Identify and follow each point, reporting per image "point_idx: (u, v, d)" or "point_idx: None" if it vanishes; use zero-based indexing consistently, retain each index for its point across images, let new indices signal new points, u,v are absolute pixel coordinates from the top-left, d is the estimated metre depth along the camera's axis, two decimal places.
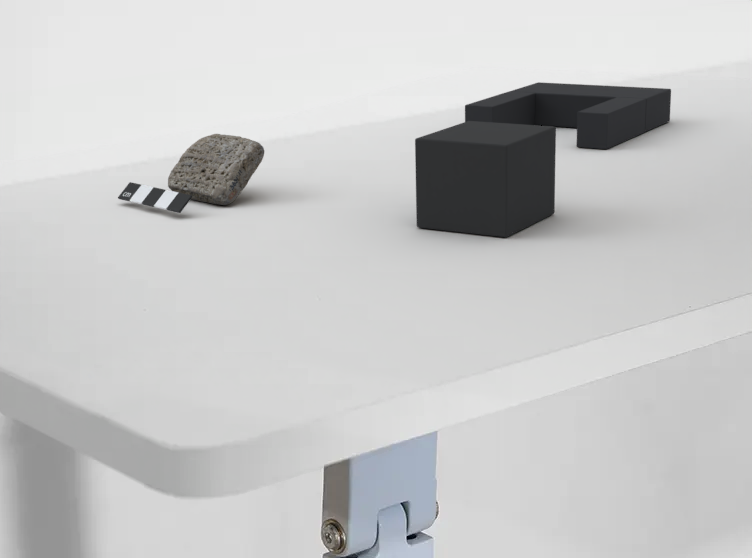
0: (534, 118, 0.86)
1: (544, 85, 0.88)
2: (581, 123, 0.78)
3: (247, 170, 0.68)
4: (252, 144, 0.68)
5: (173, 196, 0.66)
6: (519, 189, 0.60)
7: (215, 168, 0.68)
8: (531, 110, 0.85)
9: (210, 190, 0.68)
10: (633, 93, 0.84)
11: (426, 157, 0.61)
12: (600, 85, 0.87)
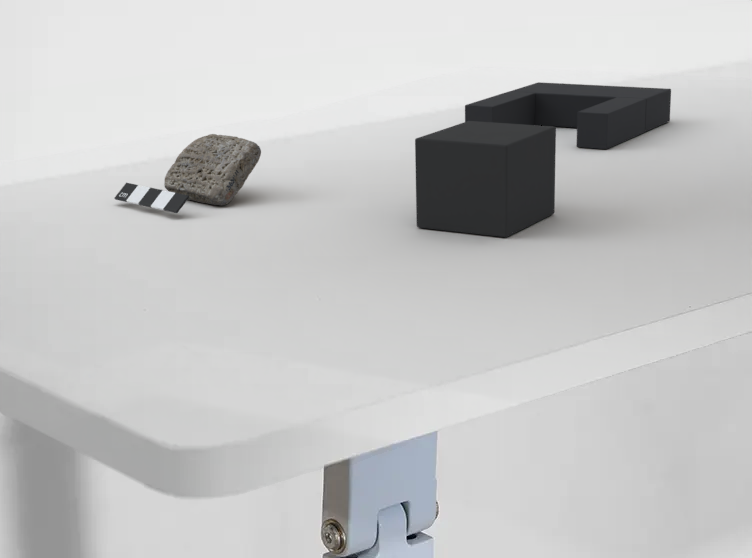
0: (534, 118, 0.86)
1: (544, 85, 0.88)
2: (581, 123, 0.78)
3: (244, 170, 0.68)
4: (249, 144, 0.68)
5: (169, 196, 0.66)
6: (519, 189, 0.60)
7: (211, 168, 0.68)
8: (531, 110, 0.85)
9: (207, 190, 0.68)
10: (633, 93, 0.84)
11: (426, 157, 0.61)
12: (600, 85, 0.87)
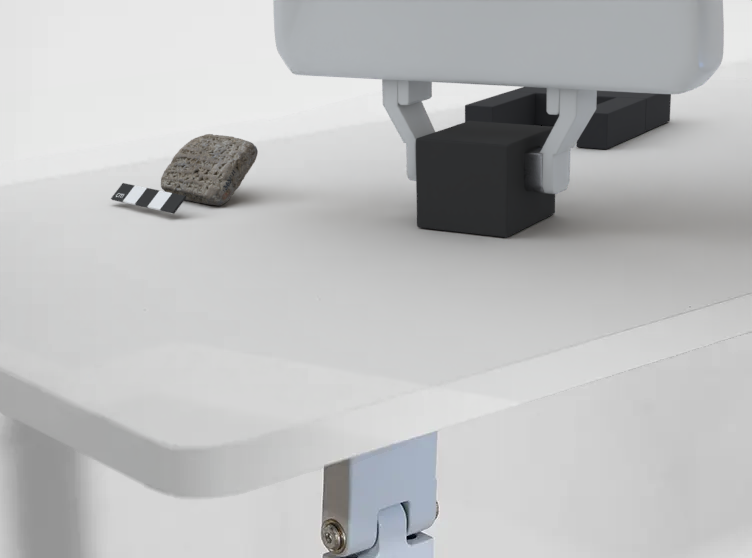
0: (534, 118, 0.86)
1: None
2: None
3: (241, 170, 0.68)
4: (245, 144, 0.68)
5: (166, 197, 0.66)
6: (519, 189, 0.60)
7: (208, 168, 0.68)
8: (531, 110, 0.85)
9: (204, 190, 0.68)
10: (633, 93, 0.84)
11: (427, 157, 0.61)
12: None
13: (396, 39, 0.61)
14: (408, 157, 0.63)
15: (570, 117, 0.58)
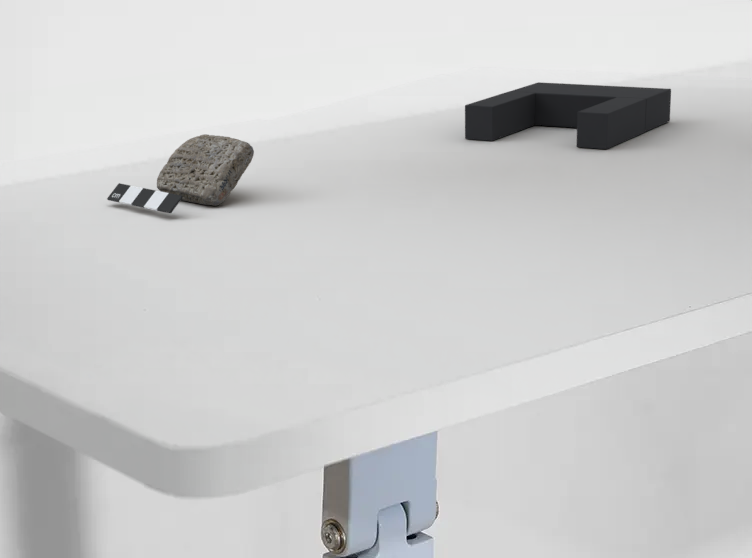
0: (534, 118, 0.86)
1: (544, 85, 0.88)
2: (581, 123, 0.78)
3: (237, 170, 0.68)
4: (241, 144, 0.68)
5: (163, 197, 0.66)
6: None
7: (204, 168, 0.68)
8: (531, 110, 0.85)
9: (200, 191, 0.68)
10: (633, 93, 0.84)
11: None
12: (600, 85, 0.87)
13: None
14: None
15: None
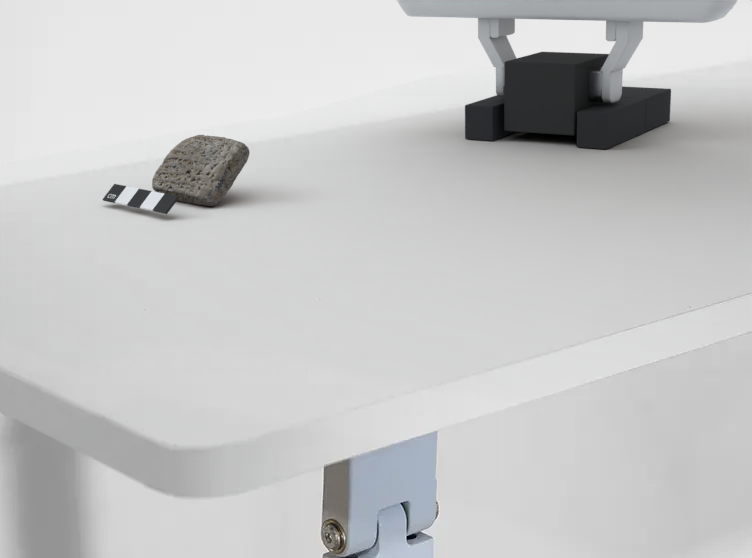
0: None
1: None
2: (581, 123, 0.78)
3: (233, 171, 0.68)
4: (237, 145, 0.68)
5: (159, 197, 0.66)
6: (583, 99, 0.80)
7: (200, 169, 0.68)
8: None
9: (196, 191, 0.68)
10: (633, 93, 0.84)
11: (513, 75, 0.80)
12: None
13: None
14: (497, 78, 0.83)
15: (624, 43, 0.78)
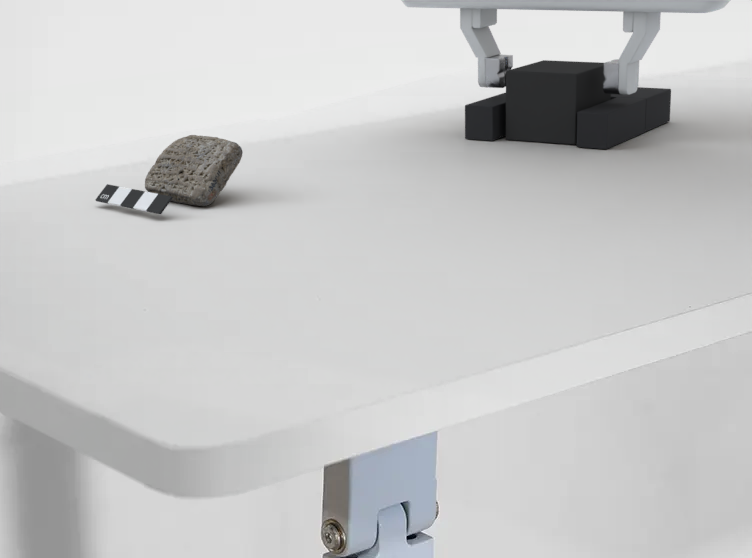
0: None
1: None
2: (581, 123, 0.78)
3: (226, 171, 0.68)
4: (230, 145, 0.68)
5: (152, 197, 0.66)
6: (585, 108, 0.80)
7: (193, 169, 0.68)
8: None
9: (189, 191, 0.68)
10: (633, 93, 0.84)
11: (514, 85, 0.81)
12: None
13: None
14: (479, 68, 0.83)
15: (641, 34, 0.77)
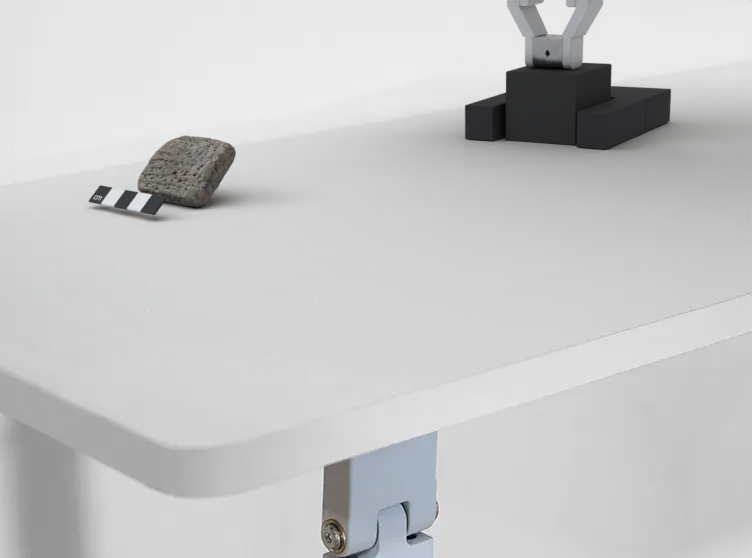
0: None
1: None
2: (581, 123, 0.78)
3: (220, 171, 0.68)
4: (223, 145, 0.68)
5: (146, 198, 0.66)
6: None
7: (186, 170, 0.68)
8: None
9: (183, 192, 0.68)
10: (633, 93, 0.84)
11: (514, 85, 0.81)
12: None
13: None
14: (526, 48, 0.81)
15: (584, 8, 0.78)
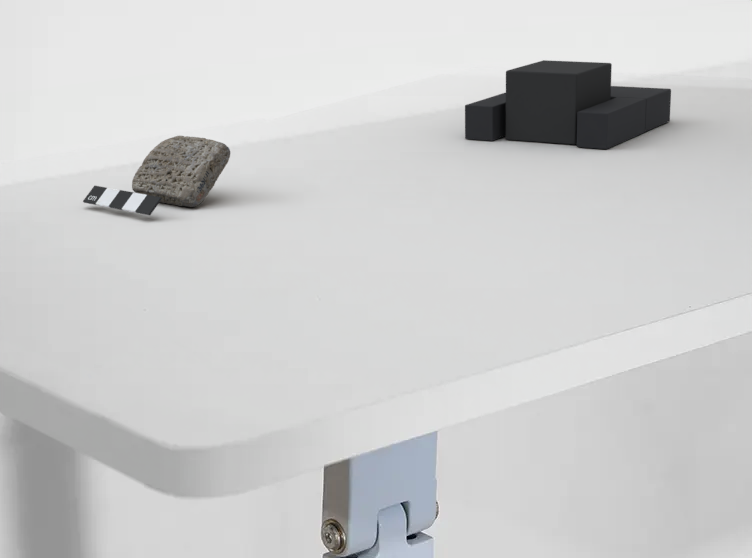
0: None
1: None
2: (581, 123, 0.78)
3: (214, 171, 0.68)
4: (218, 145, 0.68)
5: (141, 198, 0.66)
6: (584, 108, 0.80)
7: (181, 170, 0.68)
8: None
9: (178, 192, 0.68)
10: (633, 93, 0.84)
11: (514, 85, 0.81)
12: None
13: None
14: None
15: None
